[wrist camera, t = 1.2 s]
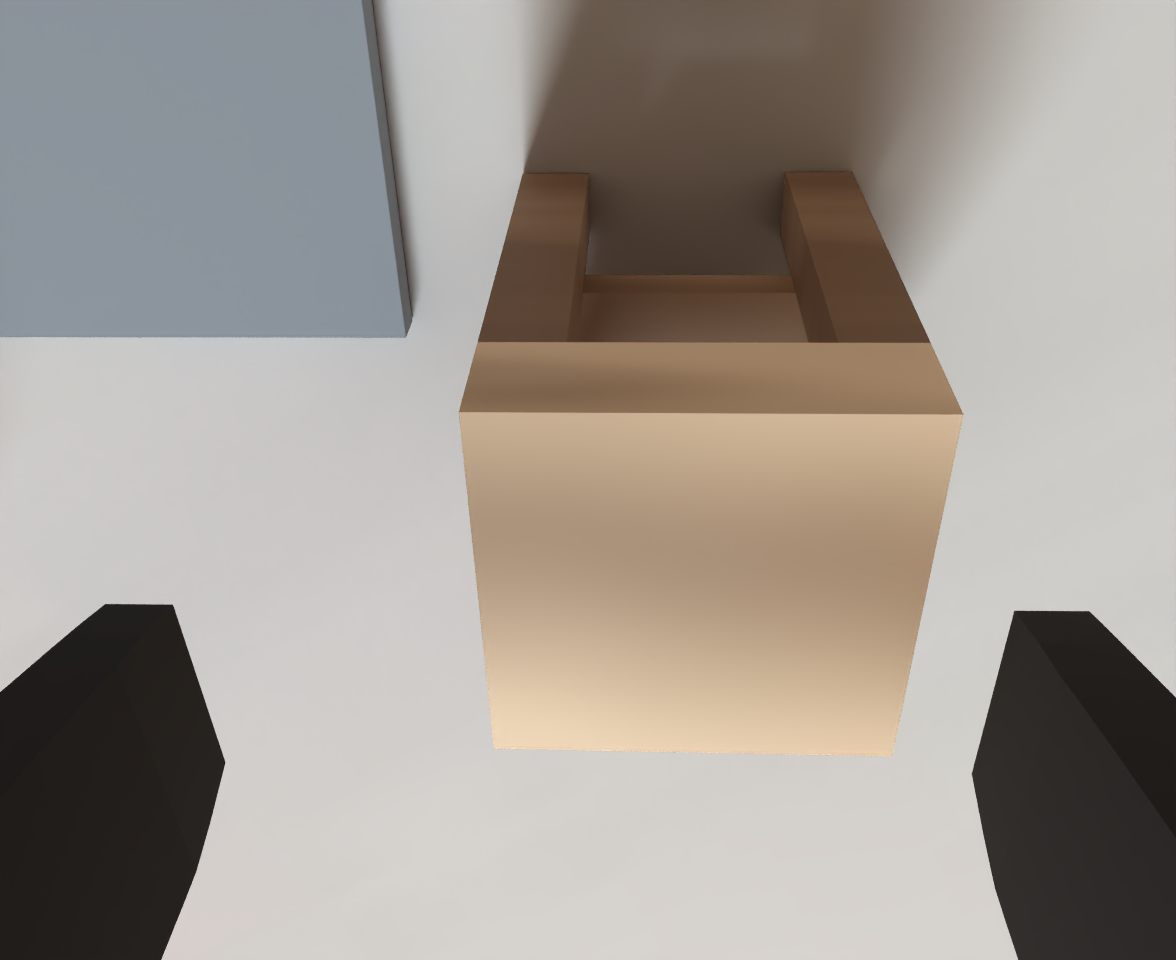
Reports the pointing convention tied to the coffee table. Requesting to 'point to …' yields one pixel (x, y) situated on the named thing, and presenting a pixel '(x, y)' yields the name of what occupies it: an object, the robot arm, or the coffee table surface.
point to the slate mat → (196, 171)
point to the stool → (703, 488)
